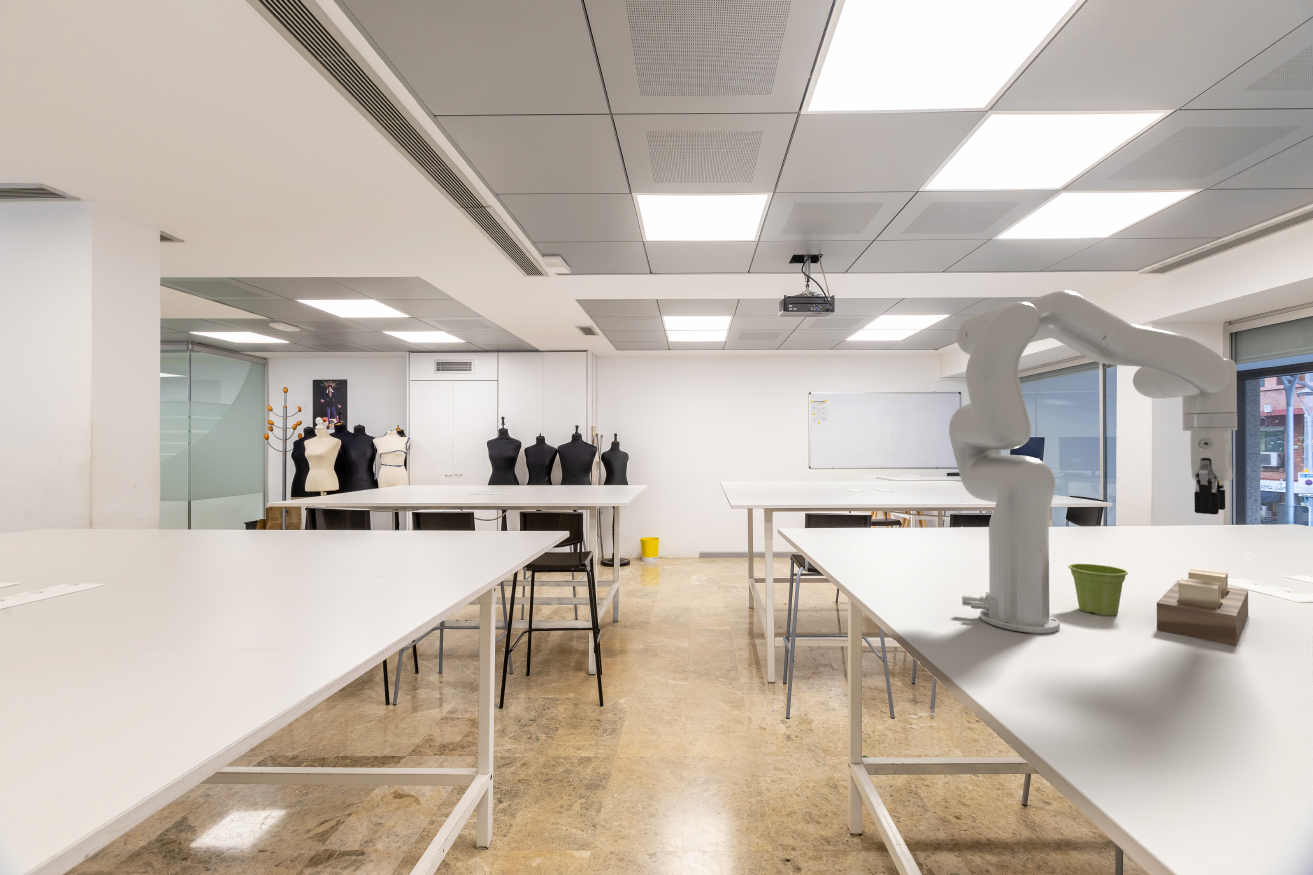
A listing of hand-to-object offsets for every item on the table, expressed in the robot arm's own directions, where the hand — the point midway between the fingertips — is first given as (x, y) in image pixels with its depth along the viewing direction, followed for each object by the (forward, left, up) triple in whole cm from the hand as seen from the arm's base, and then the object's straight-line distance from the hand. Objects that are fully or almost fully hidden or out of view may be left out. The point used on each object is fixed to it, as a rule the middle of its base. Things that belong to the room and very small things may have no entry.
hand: (1210, 511), depth 108 cm
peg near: (-6, -10, -17) cm, 21 cm away
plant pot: (-19, -4, -21) cm, 28 cm away
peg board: (-3, -5, -20) cm, 21 cm away
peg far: (0, 0, -17) cm, 17 cm away
